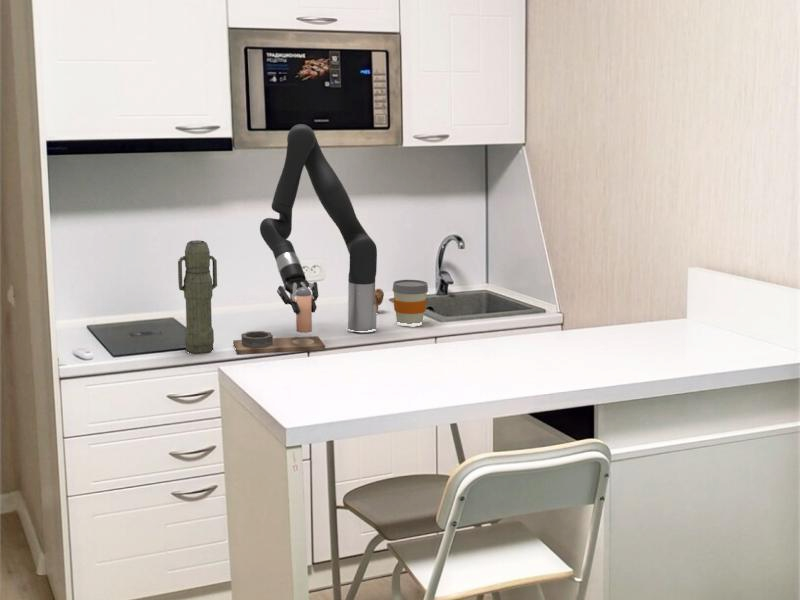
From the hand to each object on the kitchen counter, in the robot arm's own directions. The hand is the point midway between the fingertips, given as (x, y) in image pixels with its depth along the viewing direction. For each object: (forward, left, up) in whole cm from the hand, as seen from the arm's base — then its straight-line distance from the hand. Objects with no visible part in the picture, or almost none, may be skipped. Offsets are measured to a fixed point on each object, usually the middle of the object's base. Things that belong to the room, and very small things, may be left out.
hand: (306, 311), depth 321 cm
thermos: (+34, -3, -12) cm, 36 cm away
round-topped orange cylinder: (0, -2, -7) cm, 7 cm away
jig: (+9, -2, -12) cm, 15 cm away
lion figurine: (-30, -42, -12) cm, 53 cm away
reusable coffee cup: (-41, -24, -12) cm, 49 cm away
